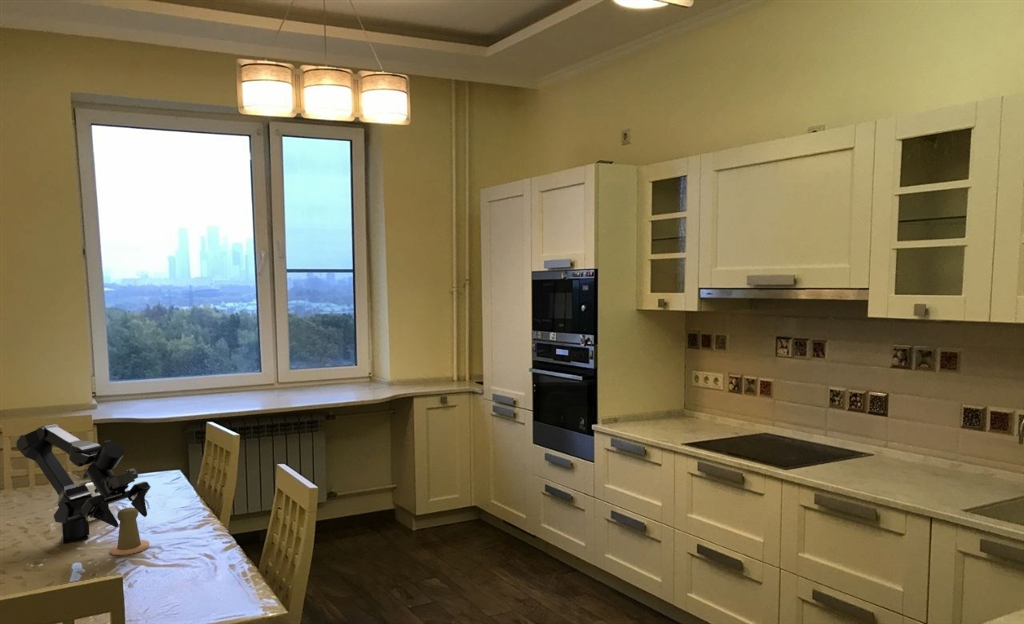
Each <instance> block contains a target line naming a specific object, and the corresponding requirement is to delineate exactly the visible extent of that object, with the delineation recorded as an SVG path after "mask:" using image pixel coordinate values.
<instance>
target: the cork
mask: <svg viewBox="0 0 1024 624" xmlns="http://www.w3.org/2000/svg"><path fill="white" fill-rule="evenodd" d="M138 516H139V512H138V511H137V509H136V508H134V507H133V506H131V507H125V508H122V509H120V510H119V511H118V512H117V521H119V526H118V527H119V529H118V538H117V544H118V547H117V549H119V550H129V549H133V548H136V547H139V546H140V545H141V541H140V540H141V537H140V533H139V532H140V531H139V527H138V523H137V518H138Z"/></svg>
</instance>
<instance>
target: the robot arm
mask: <svg viewBox="0 0 1024 624" xmlns="http://www.w3.org/2000/svg"><path fill="white" fill-rule="evenodd" d="M53 446H55V447H57V448H58V449H60V450H62V451H63V452H65V453H66V454H67V455H68V459H69V460H68V461H70V462H71V463H72V464H74V465H75V467H78V468H81V467H85V466H88V465H89V466H88V467H87V468H85V469H84V470H83V471H84V473H83V475H82V478H83V480H86V479H89V481H92V483H93V484H94V486H95V487H96V489H95V490H94V492H95V493H99V494H100V495H97V496H94V497H92V495H91V494H92V493H91V492H90V491H89V490H88V488H87V487H86V486H85V485H80V486H79V485H76V484H75V482H74V480H73V479H72V478H71V476H70V475H69V473H67V470H66V469H65V468H64V466H63V465H62V464H61V462H60V461H59V459H58V458H57V457H56V455H55V454H54V452H53ZM16 448H17V449H18V451H19V452H20V454H22V455H23V456H24V457H25V458H27V459H30V460H32V461H34V462H35V463H36V464H37V466H38V467H39V469H40V470H41V472H42V473H43V474H44V476H45V477H46V479H47V480H48V482H49V483H50V484H51V486H52V487H53V489H54V490H55V492H56V494H57V495H58V500H57V506H58V508H57V510H56V511H55V512H54V514H53V518H54V521H55V523H58V524H61V541H62V544H68V543H73V542H78V541H83V540H87V539H89V536H90V522H89V521H88V520H86V517H88V516H89V517H90V518H96V520H99V521H101V522H103V523H106V524H108V525H110V526H112V527H115V528H118V527H119V526H120V523H119V522H118V519H117V518H116V517H115V516H114V514H113V512H112V511H111V510H110V508H109V507H110V506H109V505H110V504H113V503H116V502H119V501H122V500H125V499H128V500H129V501H130V502H131V503H130V505H132V506H131V507H132V508H136V509H137V511H138V514H140V515H141V516H143V518H146V517H147V516H148V511H147V507H146V506H147V505H146V494H148V492H149V490H150V489H151V487H152V486H151V485H150V484H149V483H148V481H141V482H137V483H135V484H133V485H132V487H131V488H130V490H127V489H128V488H129V487H130V486H129V484H132V483H134V482H135V481H136V480H135V479H138V478H139V474H138V471H137V470H136V469H135V468H129V469H127V470H125V472H124V473H120V474H118V473H117V474H114V472H113V469H115V468H116V467H117V466H118V464H119V462H120V461H121V459H122V458H123V457H124V456H125V454H126V451H125V448H124V446H123V445H120V444H119V443H117V442H113V441H112V440H111V439H110V440H105V441H103V443H102V444H100V443H97V442H94V441H89V440H88V441H87V440H81V439H79V438H78V437H76V436H74V435H73V434H72V433H70V432H68V431H66V430H64V429H63V428H61V427H60V426H59V425H58V424H57V423H56V424H55V423H53V424H48V425H42V426H40V427H38V428H37V429H35V430H32V431H30V432H29V433H25V434H22V435H19V437H18V439H17V440H16Z"/></svg>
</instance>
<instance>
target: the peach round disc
mask: <svg viewBox="0 0 1024 624" xmlns="http://www.w3.org/2000/svg"><path fill="white" fill-rule="evenodd" d="M140 541H141V545H140V546H139V547H136V548H133V549H129V550H119V549H117V547H118V543H117V544H114V545H113V546H112V547H110V549H109V553H110V555H112V556H117V555H122V556H130V555H134V554H133V553H135V554H138V553H140V551H141V552H143V550H144V551H146V550H147V549H148V548H150V542H149V540H146V539H140ZM145 549H146V550H145ZM137 552H138V553H137ZM129 554H130V555H129Z"/></svg>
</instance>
